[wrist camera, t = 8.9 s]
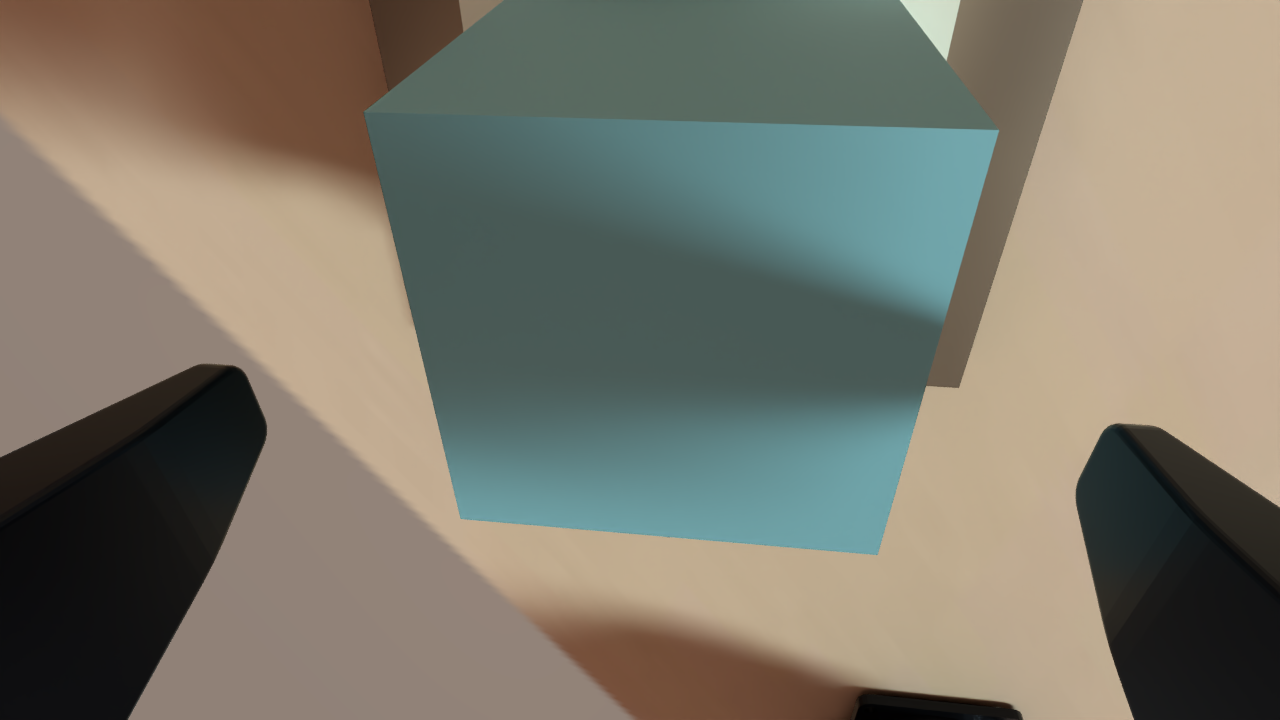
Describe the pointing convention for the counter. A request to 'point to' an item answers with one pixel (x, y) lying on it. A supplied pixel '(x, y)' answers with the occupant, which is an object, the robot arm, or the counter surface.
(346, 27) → the counter surface
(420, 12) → the plate
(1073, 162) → the counter surface
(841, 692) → the counter surface
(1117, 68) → the counter surface
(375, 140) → the teal block
